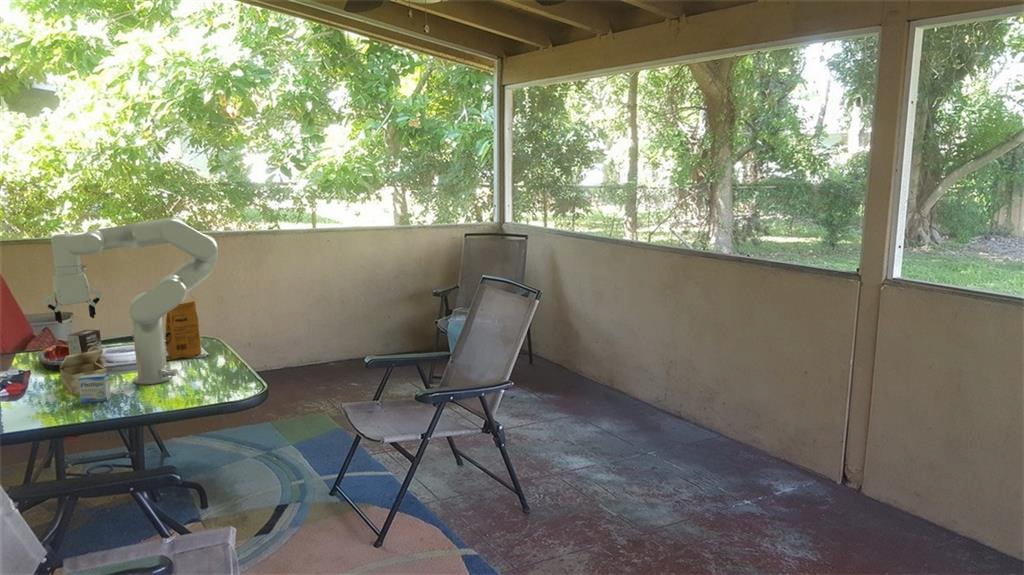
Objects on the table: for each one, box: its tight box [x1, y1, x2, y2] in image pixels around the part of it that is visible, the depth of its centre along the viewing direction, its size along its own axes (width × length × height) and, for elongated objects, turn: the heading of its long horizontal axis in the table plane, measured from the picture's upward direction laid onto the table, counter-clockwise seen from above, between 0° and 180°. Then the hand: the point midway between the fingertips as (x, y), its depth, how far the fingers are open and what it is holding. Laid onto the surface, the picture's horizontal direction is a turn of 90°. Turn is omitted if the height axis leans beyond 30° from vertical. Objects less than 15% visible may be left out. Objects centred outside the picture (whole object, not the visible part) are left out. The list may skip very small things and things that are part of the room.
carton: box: [59, 362, 108, 397], centre depth 244 cm, size 11×12×7 cm
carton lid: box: [60, 348, 104, 369], centre depth 243 cm, size 11×12×1 cm
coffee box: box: [66, 329, 105, 368], centre depth 259 cm, size 9×6×16 cm
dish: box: [37, 344, 69, 371], centre depth 275 cm, size 16×31×5 cm, turn 35°
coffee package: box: [164, 299, 202, 360], centre depth 283 cm, size 10×12×22 cm
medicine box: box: [78, 372, 112, 404], centre depth 231 cm, size 8×4×9 cm, turn 105°
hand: (76, 319), depth 240 cm, fingers open, 9 cm apart
